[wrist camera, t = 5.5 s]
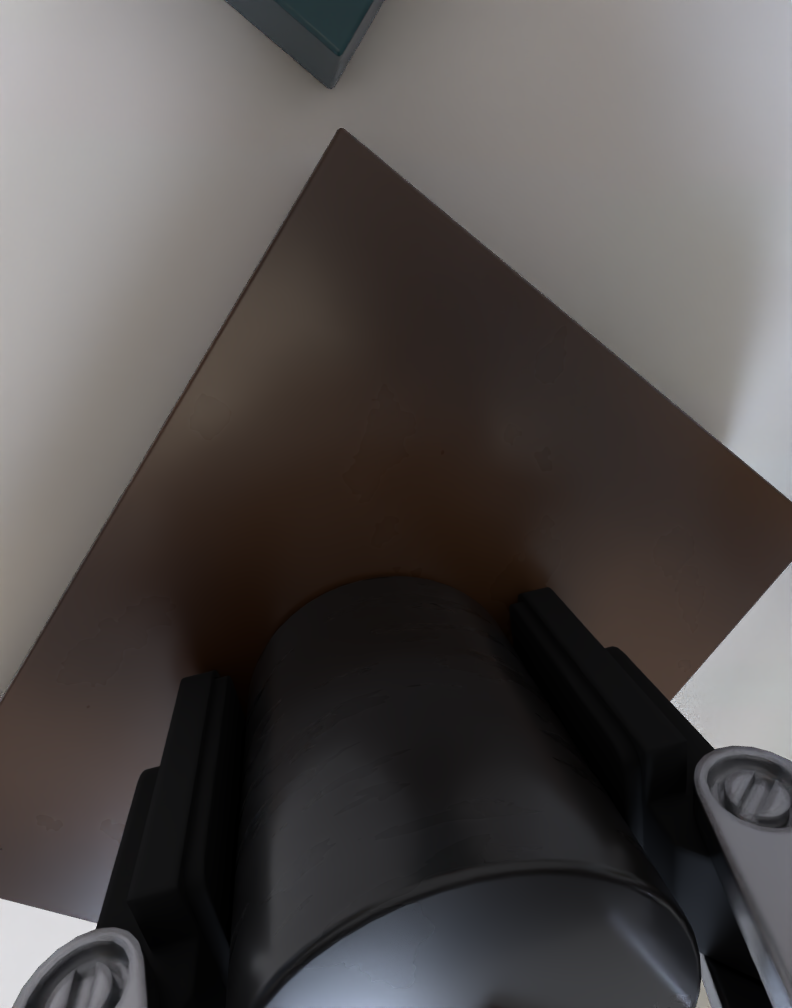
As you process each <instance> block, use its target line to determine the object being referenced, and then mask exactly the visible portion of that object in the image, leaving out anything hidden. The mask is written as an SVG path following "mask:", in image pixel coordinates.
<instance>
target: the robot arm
mask: <svg viewBox="0 0 792 1008" xmlns="http://www.w3.org/2000/svg"><path fill="white" fill-rule="evenodd" d="M517 602H518V603H515V604H511V605H510V607H509V613H510V622H511V631H512V639H513V648H514V650H515V651H516V653H517V655H518V656H519V658H520V659H521V661H522V662H523V664H524V665H525V667H526V669H527V670H528V672H529V673H530V675H531V676H532V678H533V679H534V681H535V682H536V684H537V686H538V687H539V689H540V690H541V692H542V693H543V695H544V696H545V698H546V700H547V701H548V703H549V704H550V706H551V707H552V709H553V710H554V712H555V713H556V715H557V717H558V718H559V720H560V721H561V723H562V724H563V726H564V727H565V729H566V731H567V732H568V734H569V735H570V737H571V738H572V740H573V741H574V743H575V744H576V746H577V748H578V749H579V751H580V752H581V754H582V755H583V757H584V758H585V760H586V762H587V763H588V765H589V766H590V768H591V769H592V771H593V772H594V774H595V775H596V777H597V779H598V780H599V782H600V783H601V785H602V786H603V788H604V789H605V791H606V793H607V794H608V796H609V797H610V799H611V800H612V802H613V803H614V805H615V806H616V808H617V810H618V811H619V813H620V814H621V816H622V817H623V819H624V820H625V822H626V824H627V825H628V827H629V828H630V830H631V831H632V833H633V834H634V836H635V837H636V839H637V841H638V842H639V844H640V845H641V847H642V848H643V850H644V851H645V853H646V855H647V856H648V858H649V859H650V861H651V862H652V864H653V865H654V867H655V869H656V870H657V872H658V873H659V875H660V876H661V878H662V879H663V881H664V882H665V884H666V886H667V887H668V889H669V890H670V892H671V893H672V895H673V896H674V898H675V900H676V901H677V903H678V904H679V906H680V907H681V909H682V910H683V912H684V914H685V916H686V917H687V919H688V921H689V923H690V925H691V926H692V928H693V931H694V935H695V938H696V941H697V945H698V948H699V953H700V961H701V973H702V974H701V978H702V981H703V984H704V987H705V990H706V993H707V996H708V999H709V1002H710V1005H711V1008H792V762H791V761H790V760H788V759H786V758H783V757H781V756H779V755H777V754H775V753H772V752H770V751H766V750H762V749H758V748H754V747H745V746H729V747H724V748H718V749H714V748H713V747H712V746H711V745H710V744H709V743H708V742H707V741H706V740H705V739H704V737H703V736H702V735H701V734H700V733H699V732H698V731H697V730H696V729H695V728H694V727H693V726H692V725H691V724H690V722H689V721H688V720H687V719H686V718H685V717H684V716H683V715H682V714H681V713H680V712H679V711H678V710H677V709H676V708H675V706H674V705H673V704H672V703H671V702H670V701H669V700H668V699H667V698H666V697H665V696H664V695H663V694H662V693H661V692H660V690H659V689H658V688H657V687H656V686H655V685H654V684H653V683H652V682H651V681H650V680H649V679H648V678H647V677H646V675H645V674H644V673H643V672H642V671H641V670H640V669H639V668H638V667H637V666H636V665H635V664H634V663H633V662H632V661H631V659H630V658H629V657H628V656H627V655H626V654H625V653H624V652H623V651H622V650H620V649H619V648H618V647H614V646H611V647H607V648H604V647H603V646H602V645H601V644H600V642H599V641H598V640H597V639H596V638H595V637H594V636H593V635H592V633H591V632H590V631H589V630H588V629H587V628H586V627H585V626H584V625H583V623H582V622H581V621H580V620H579V619H578V618H577V617H576V616H575V614H574V613H573V612H572V611H571V610H570V609H569V608H568V607H567V606H566V604H565V603H564V602H563V601H562V600H561V599H560V598H559V597H558V595H557V594H556V593H555V592H554V591H553V590H552V589H551V588H550V587H546V588H542V589H538V590H534V591H530V592H526V593H521V594H519V595H518V599H517ZM245 734H246V720H245V717H244V714H243V711H242V708H241V705H240V702H239V699H238V696H237V693H236V690H235V687H234V684H233V681H232V678H231V677H230V676H229V675H228V676H224V677H220V675H219V674H218V672H217V671H216V670H213V671H209V672H205V673H201V674H197V675H193V676H189V677H185V678H183V679H182V680H181V682H180V686H179V690H178V694H177V698H176V702H175V706H174V710H173V714H172V718H171V722H170V726H169V730H168V734H167V738H166V743H165V747H164V751H163V755H162V759H161V763H160V766H157V767H154V768H150V769H146V770H144V771H143V772H142V773H141V775H140V777H139V780H138V782H137V785H136V789H135V792H134V796H133V800H132V803H131V807H130V810H129V814H128V817H127V821H126V824H125V828H124V831H123V835H122V838H121V842H120V846H119V849H118V853H117V856H116V860H115V863H114V867H113V870H112V874H111V877H110V881H109V884H108V888H107V892H106V895H105V899H104V902H103V906H102V909H101V913H100V916H99V920H98V923H97V927H96V929H95V930H93V931H90V932H88V933H85V934H82V935H80V936H77V937H76V938H74V939H73V940H71V941H70V942H68V943H67V944H65V945H64V946H62V947H61V948H59V949H57V950H56V951H55V952H54V953H53V954H52V955H51V956H50V957H49V958H48V959H47V960H46V961H45V962H43V963H42V964H41V965H40V966H39V967H38V968H37V970H36V971H35V972H34V974H33V975H32V976H31V977H30V979H29V980H28V981H27V983H26V984H25V985H24V986H23V988H22V989H21V991H20V993H19V995H18V997H17V999H16V1001H15V1003H14V1005H13V1007H12V1008H225V1007H226V994H227V980H228V966H229V953H230V939H231V925H232V912H233V898H234V884H235V871H236V857H237V844H238V830H239V816H240V803H241V789H242V775H243V762H244V748H245Z"/></svg>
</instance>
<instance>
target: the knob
mask: <svg viewBox="0 0 792 1008" xmlns="http://www.w3.org/2000/svg"><path fill="white" fill-rule="evenodd" d="M701 974H702V973H701V961H700V953H699V948H698V945H697V941H696V938H695V935H694V931H693V928H692V926H691V925H690V923H689V921H688V919H687V917H686V916H685V914H684V912H683V910H682V909H681V907H680V906H679V904H678V903H677V901H676V900H675V898H674V896H673V895H672V893H671V892H670V890H669V889H668V887H667V886H666V884H665V882H664V881H663V879H662V878H661V876H660V875H659V873H658V872H657V870H656V869H655V867H654V865H653V864H652V862H651V861H650V859H649V858H648V856H647V855H646V853H645V851H644V850H643V848H642V847H641V845H640V844H639V842H638V841H637V839H636V837H635V836H634V834H633V833H632V831H631V830H630V828H629V827H628V825H627V824H626V822H625V820H624V819H623V817H622V816H621V814H620V813H619V811H618V810H617V808H616V806H615V805H614V803H613V802H612V800H611V799H610V797H609V796H608V794H607V793H606V791H605V789H604V788H603V786H602V785H601V783H600V782H599V780H598V779H597V777H596V775H595V774H594V772H593V771H592V769H591V768H590V766H589V765H588V763H587V762H586V760H585V758H584V757H583V755H582V754H581V752H580V751H579V749H578V748H577V746H576V744H575V743H574V741H573V740H572V738H571V737H570V735H569V734H568V732H567V731H566V729H565V727H564V726H563V724H562V723H561V721H560V720H559V718H558V717H557V715H556V713H555V712H554V710H553V709H552V707H551V706H550V704H549V703H548V701H547V700H546V698H545V696H544V695H543V693H542V692H541V690H540V689H539V687H538V686H537V684H536V682H535V681H534V679H533V678H532V676H531V675H530V673H529V672H528V670H527V669H526V667H525V665H524V664H523V662H522V661H521V659H520V658H519V656H518V655H517V653H516V651H515V650H514V648H513V647H512V645H511V644H510V642H509V641H508V639H507V638H506V636H505V634H504V633H503V631H502V630H501V628H500V627H499V625H498V624H497V622H496V621H495V620H494V619H493V617H492V616H491V615H490V614H489V612H488V611H487V610H486V609H484V608H483V607H482V606H481V605H480V604H479V603H478V602H477V601H475V600H474V599H472V598H471V597H469V596H468V595H466V594H465V593H463V592H461V591H459V590H457V589H455V588H453V587H450V586H448V585H445V584H442V583H439V582H436V581H432V580H428V579H422V578H417V577H405V576H388V577H376V578H371V579H365V580H360V581H356V582H353V583H350V584H347V585H343V586H340V587H338V588H336V589H334V590H331V591H329V592H327V593H325V594H323V595H321V596H319V597H318V598H316V599H314V600H312V601H311V602H309V603H307V604H306V605H305V606H303V607H302V608H301V609H300V610H298V611H297V612H296V613H294V614H293V615H292V616H291V617H290V618H289V619H288V620H287V621H286V622H285V623H284V624H283V625H282V626H281V627H280V628H279V629H278V630H277V631H276V633H275V634H274V635H273V636H272V638H271V639H270V640H269V642H268V643H267V645H266V646H265V648H264V650H263V651H262V653H261V655H260V657H259V659H258V661H257V664H256V666H255V668H254V671H253V674H252V678H251V682H250V686H249V694H248V707H247V721H246V734H245V748H244V762H243V775H242V789H241V803H240V816H239V830H238V844H237V857H236V871H235V884H234V898H233V912H232V925H231V939H230V953H229V966H228V980H227V994H226V1007H225V1008H695V1007H696V1004H697V1000H698V996H699V992H700V983H701Z"/></svg>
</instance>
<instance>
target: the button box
mask: <svg viewBox="0 0 792 1008" xmlns="http://www.w3.org/2000/svg"><path fill="white" fill-rule="evenodd" d="M225 1H226V2H227V3H229V4H230V5H231V6H232V7H233V8H235V9H236V10H237V11H238V12H239V13H240V14H242V15H243V16H244V17H245V18H246V19H247V20H249V21H250V22H251V23H252V24H253V25H254V26H256V27H257V28H258V29H259V30H260V31H262V32H263V33H264V34H265V35H266V36H267V37H269V38H270V39H271V40H272V41H273V42H274V43H276V44H277V45H278V46H279V47H280V48H281V49H283V50H284V51H285V52H286V53H287V54H289V55H290V56H291V57H292V58H293V59H294V60H296V61H297V62H298V63H299V64H300V65H301V66H303V67H304V68H305V69H306V70H307V71H308V72H310V73H311V74H312V75H313V76H314V77H316V78H317V79H318V80H319V81H320V82H321V83H323V84H324V85H325V86H326V87H327V88H330V89H332V88H333V87H334V86H335V85H336V83H337V81H338V79H339V78H340V76H341V74H342V73H343V71H344V69H345V67H346V66H347V64H348V62H349V61H350V59H351V57H352V55H353V54H354V52H355V50H356V49H357V47H358V45H359V43H360V42H361V40H362V38H363V37H364V35H365V33H366V31H367V30H368V28H369V26H370V24H371V23H372V21H373V19H374V18H375V16H376V14H377V12H378V11H379V9H380V7H381V6H382V4H383V2H384V0H225Z"/></svg>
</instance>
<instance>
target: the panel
mask: <svg viewBox="0 0 792 1008" xmlns="http://www.w3.org/2000/svg"><path fill="white" fill-rule="evenodd" d="M791 562H792V501H790V500H789V499H788V498H787V497H786V496H784V495H783V494H782V493H781V492H780V491H778V490H777V489H776V488H775V487H774V486H772V485H771V484H770V483H769V482H768V481H766V480H765V479H764V478H763V477H762V476H760V475H759V474H758V473H757V472H756V471H754V470H753V469H752V468H751V467H750V466H748V465H747V464H746V463H745V462H744V461H742V460H741V459H740V458H739V457H738V456H736V455H735V454H734V453H733V452H732V451H730V450H729V449H728V448H727V447H726V446H724V445H723V444H722V443H721V442H720V441H718V440H717V439H716V438H715V437H714V436H712V435H711V434H710V433H709V432H708V431H706V430H705V429H704V428H703V427H702V426H700V425H699V424H698V423H697V422H696V421H694V420H693V419H692V418H691V417H690V416H688V415H687V414H686V413H685V412H684V411H682V410H681V409H680V408H679V407H678V406H676V405H675V404H674V403H673V402H672V401H670V400H669V399H668V398H667V397H666V396H664V395H663V394H662V393H661V392H660V391H658V390H657V389H656V388H655V387H654V386H652V385H651V384H650V383H649V382H648V381H646V380H645V379H644V378H643V377H642V376H640V375H639V374H638V373H637V372H636V371H634V370H633V369H632V368H631V367H630V366H628V365H627V364H626V363H625V362H624V361H622V360H621V359H620V358H619V357H618V356H616V355H615V354H614V353H613V352H612V351H610V350H609V349H608V348H607V347H606V346H604V345H603V344H602V343H601V342H600V341H598V340H597V339H596V338H595V337H594V336H592V335H591V334H590V333H589V332H588V331H586V330H585V329H584V328H583V327H582V326H580V325H579V324H578V323H577V322H576V321H574V320H573V319H572V318H571V317H570V316H568V315H567V314H566V313H565V312H564V311H562V310H561V309H560V308H559V307H558V306H556V305H555V304H554V303H553V302H552V301H550V300H549V299H548V298H547V297H546V296H544V295H543V294H542V293H541V292H540V291H538V290H537V289H536V288H535V287H534V286H533V285H531V284H530V283H529V282H528V281H527V280H525V279H524V278H523V277H522V276H521V275H519V274H518V273H517V272H516V271H515V270H513V269H512V268H511V267H510V266H509V265H507V264H506V263H505V262H504V261H503V260H501V259H500V258H499V257H498V256H497V255H495V254H494V253H493V252H492V251H491V250H489V249H488V248H487V247H486V246H485V245H483V244H482V243H481V242H480V241H479V240H477V239H476V238H475V237H474V236H473V235H471V234H470V233H469V232H468V231H467V230H465V229H464V228H463V227H462V226H461V225H459V224H458V223H457V222H456V221H455V220H453V219H452V218H451V217H450V216H449V215H447V214H446V213H445V212H444V211H443V210H441V209H440V208H439V207H438V206H437V205H435V204H434V203H433V202H432V201H431V200H429V199H428V198H427V197H426V196H425V195H423V194H422V193H421V192H420V191H419V190H417V189H416V188H415V187H414V186H413V185H411V184H410V183H409V182H408V181H407V180H405V179H404V178H403V177H402V176H401V175H399V174H398V173H397V172H396V171H395V170H393V169H392V168H391V167H390V166H389V165H387V164H386V163H385V162H384V161H383V160H381V159H380V158H379V157H378V156H377V155H375V154H374V153H373V152H372V151H371V150H369V149H368V148H367V147H366V146H365V145H363V144H362V143H361V142H360V141H359V140H357V139H356V138H355V137H354V136H353V135H351V134H350V133H349V132H348V131H347V130H345V129H344V128H339V129H338V130H337V132H336V133H335V135H334V137H333V139H332V140H331V142H330V144H329V145H328V147H327V149H326V150H325V152H324V154H323V155H322V157H321V159H320V160H319V162H318V164H317V166H316V167H315V169H314V171H313V172H312V174H311V176H310V177H309V179H308V181H307V182H306V184H305V186H304V188H303V189H302V191H301V193H300V194H299V196H298V198H297V199H296V201H295V203H294V204H293V206H292V208H291V210H290V211H289V213H288V215H287V216H286V218H285V220H284V221H283V223H282V225H281V226H280V228H279V230H278V232H277V233H276V235H275V237H274V238H273V240H272V242H271V243H270V245H269V247H268V248H267V250H266V252H265V254H264V255H263V257H262V259H261V260H260V262H259V264H258V265H257V267H256V269H255V270H254V272H253V274H252V276H251V277H250V279H249V281H248V282H247V284H246V286H245V287H244V289H243V291H242V292H241V294H240V296H239V298H238V299H237V301H236V303H235V304H234V306H233V308H232V309H231V311H230V313H229V314H228V316H227V318H226V319H225V321H224V323H223V325H222V326H221V328H220V330H219V331H218V333H217V335H216V336H215V338H214V340H213V341H212V343H211V345H210V347H209V348H208V350H207V352H206V353H205V355H204V357H203V358H202V360H201V362H200V363H199V365H198V367H197V369H196V370H195V372H194V374H193V375H192V377H191V379H190V380H189V382H188V384H187V385H186V387H185V389H184V391H183V392H182V394H181V396H180V397H179V399H178V401H177V402H176V404H175V406H174V407H173V409H172V411H171V413H170V414H169V416H168V418H167V419H166V421H165V423H164V424H163V426H162V428H161V429H160V431H159V433H158V435H157V436H156V438H155V440H154V441H153V443H152V445H151V446H150V448H149V450H148V451H147V453H146V455H145V456H144V458H143V460H142V462H141V463H140V465H139V467H138V468H137V470H136V472H135V473H134V475H133V477H132V478H131V480H130V482H129V484H128V485H127V487H126V489H125V490H124V492H123V494H122V495H121V497H120V499H119V500H118V502H117V504H116V506H115V507H114V509H113V511H112V512H111V514H110V516H109V517H108V519H107V521H106V522H105V524H104V526H103V528H102V529H101V531H100V533H99V534H98V536H97V538H96V539H95V541H94V543H93V544H92V546H91V548H90V550H89V551H88V553H87V555H86V556H85V558H84V560H83V561H82V563H81V565H80V566H79V568H78V570H77V572H76V573H75V575H74V577H73V578H72V580H71V582H70V583H69V585H68V587H67V588H66V590H65V592H64V593H63V595H62V597H61V599H60V600H59V602H58V604H57V605H56V607H55V609H54V610H53V612H52V614H51V615H50V617H49V619H48V621H47V622H46V624H45V626H44V627H43V629H42V631H41V632H40V634H39V636H38V637H37V639H36V641H35V643H34V644H33V646H32V648H31V649H30V651H29V653H28V654H27V656H26V658H25V659H24V661H23V663H22V665H21V666H20V668H19V670H18V671H17V673H16V675H15V676H14V678H13V680H12V681H11V683H10V685H9V687H8V688H7V690H6V692H5V693H4V695H3V697H2V698H1V700H0V898H1V899H5V900H9V901H13V902H17V903H20V904H24V905H28V906H32V907H36V908H40V909H44V910H48V911H52V912H55V913H59V914H63V915H67V916H71V917H75V918H79V919H83V920H86V921H90V922H94V923H98V920H99V916H100V913H101V909H102V906H103V902H104V899H105V895H106V892H107V888H108V884H109V881H110V877H111V874H112V870H113V867H114V863H115V860H116V856H117V853H118V849H119V846H120V842H121V838H122V835H123V831H124V828H125V824H126V821H127V817H128V814H129V810H130V807H131V803H132V800H133V796H134V792H135V789H136V785H137V782H138V780H139V777H140V775H141V773H142V772H143V771H144V770H146V769H150V768H154V767H157V766H160V763H161V759H162V755H163V751H164V747H165V743H166V738H167V734H168V730H169V726H170V722H171V718H172V714H173V710H174V706H175V702H176V698H177V694H178V690H179V686H180V682H181V680H182V679H183V678H185V677H189V676H193V675H197V674H201V673H205V672H209V671H213V670H216V671H217V672H218V674H219V675H220V677H224V676H228V675H229V676H230V677H231V678H232V681H233V684H234V687H235V690H236V693H237V696H238V699H239V702H240V705H241V708H242V711H243V714H244V717H245V720H246V721H247V707H248V694H249V686H250V682H251V678H252V674H253V671H254V668H255V666H256V664H257V661H258V659H259V657H260V655H261V653H262V651H263V650H264V648H265V646H266V645H267V643H268V642H269V640H270V639H271V638H272V636H273V635H274V634H275V633H276V631H277V630H278V629H279V628H280V627H281V626H282V625H283V624H284V623H285V622H286V621H287V620H288V619H289V618H290V617H291V616H292V615H293V614H294V613H296V612H297V611H298V610H300V609H301V608H302V607H303V606H305V605H306V604H307V603H309V602H311V601H312V600H314V599H316V598H318V597H319V596H321V595H323V594H325V593H327V592H329V591H331V590H334V589H336V588H338V587H340V586H343V585H347V584H350V583H353V582H356V581H360V580H365V579H371V578H376V577H388V576H405V577H417V578H422V579H428V580H432V581H436V582H439V583H442V584H445V585H448V586H450V587H453V588H455V589H457V590H459V591H461V592H463V593H465V594H466V595H468V596H469V597H471V598H472V599H474V600H475V601H477V602H478V603H479V604H480V605H481V606H482V607H483V608H484V609H486V610H487V611H488V612H489V614H490V615H491V616H492V617H493V619H494V620H495V621H496V622H497V624H498V625H499V627H500V628H501V630H502V631H503V633H504V634H505V636H506V638H507V639H508V641H509V642H510V644H511V645H512V647H513V639H512V631H511V622H510V613H509V607H510V605H511V604H515V603H518V602H517V599H518V595H519V594H521V593H526V592H530V591H534V590H538V589H542V588H546V587H550V588H551V589H552V590H553V591H554V592H555V593H556V594H557V595H558V597H559V598H560V599H561V600H562V601H563V602H564V603H565V604H566V606H567V607H568V608H569V609H570V610H571V611H572V612H573V613H574V614H575V616H576V617H577V618H578V619H579V620H580V621H581V622H582V623H583V625H584V626H585V627H586V628H587V629H588V630H589V631H590V632H591V633H592V635H593V636H594V637H595V638H596V639H597V640H598V641H599V642H600V644H601V645H602V646H603V647H604V648H607V647H611V646H614V647H618V648H619V649H620V650H622V651H623V652H624V653H625V654H626V655H627V656H628V657H629V658H630V659H631V661H632V662H633V663H634V664H635V665H636V666H637V667H638V668H639V669H640V670H641V671H642V672H643V673H644V674H645V675H646V677H647V678H648V679H649V680H650V681H651V682H652V683H653V684H654V685H655V686H656V687H657V688H658V689H659V690H660V692H661V693H662V694H663V695H664V696H665V697H666V698H667V699H668V700H669V701H671V700H672V699H673V698H674V696H675V695H676V694H677V693H678V692H679V691H680V689H681V688H682V687H683V686H684V685H685V684H686V683H687V681H688V680H689V679H690V678H691V677H692V676H693V675H694V673H695V672H696V671H697V670H698V669H699V668H700V666H701V665H702V664H703V663H704V662H705V661H706V660H707V658H708V657H709V656H710V655H711V654H712V653H713V652H714V650H715V649H716V648H717V647H718V646H719V645H720V643H721V642H722V641H723V640H724V639H725V638H726V637H727V635H728V634H729V633H730V632H731V631H732V630H733V629H734V627H735V626H736V625H737V624H738V623H739V622H740V620H741V619H742V618H743V617H744V616H745V615H746V614H747V612H748V611H749V610H750V609H751V608H752V607H753V606H754V604H755V603H756V602H757V601H758V600H759V599H760V597H761V596H762V595H763V594H764V593H765V592H766V591H767V589H768V588H769V587H770V586H771V585H772V584H773V583H774V581H775V580H776V579H777V578H778V577H779V576H780V574H781V573H782V572H783V571H784V570H785V569H786V568H787V566H788V565H789V564H790V563H791Z"/></svg>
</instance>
